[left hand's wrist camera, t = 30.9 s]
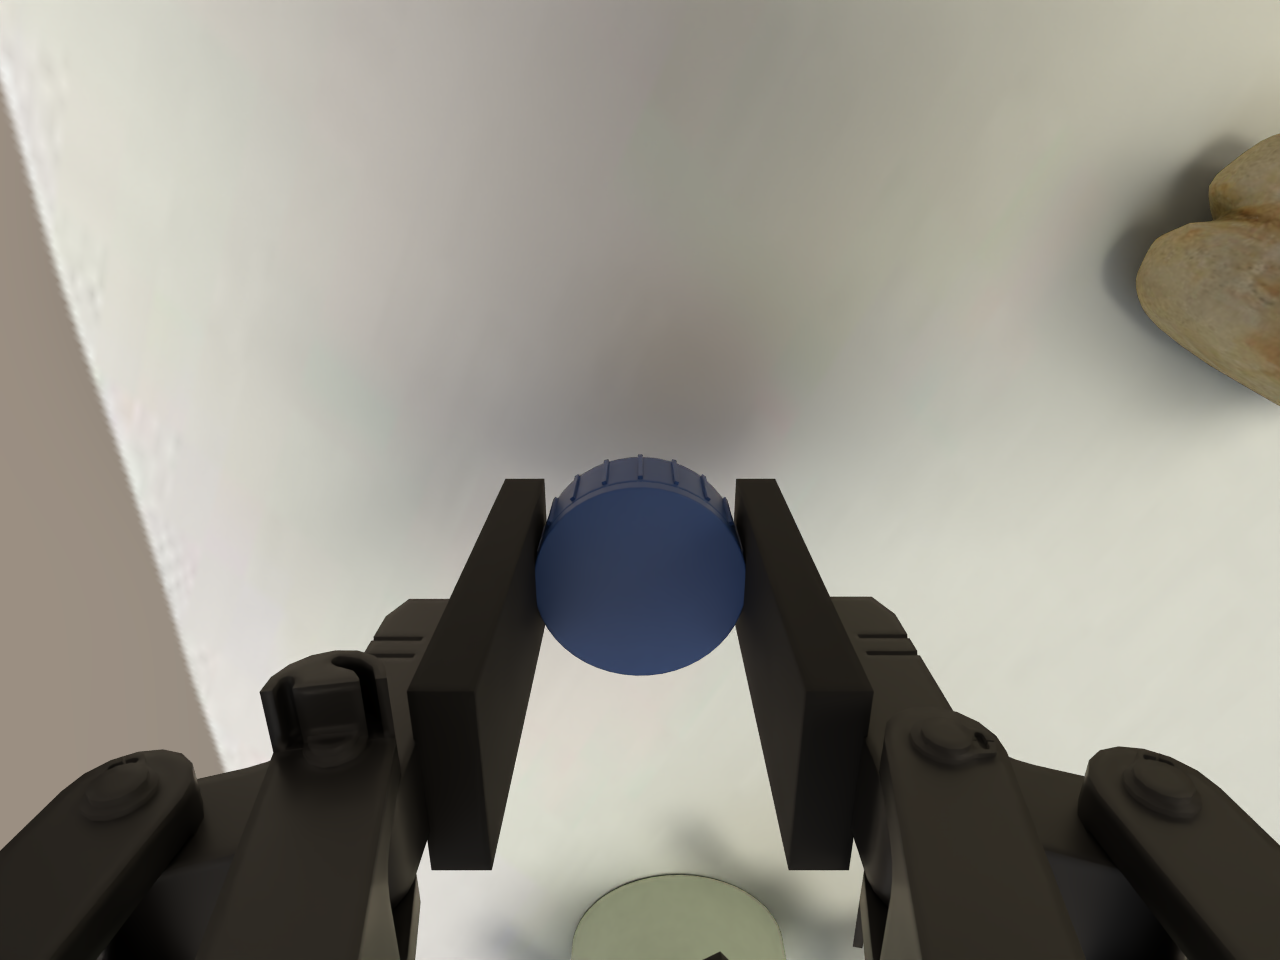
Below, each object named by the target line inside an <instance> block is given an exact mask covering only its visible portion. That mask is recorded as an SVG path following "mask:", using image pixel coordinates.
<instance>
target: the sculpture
mask: <svg viewBox="0 0 1280 960" xmlns="http://www.w3.org/2000/svg"><path fill="white" fill-rule="evenodd" d="M1209 204H1210V210H1211V214H1212V219H1213V221H1207V222H1196V223H1189V224H1186V225H1184V226H1182V227H1179V228H1177V229H1175V230H1172V231H1170V232H1168V233H1166V234H1163V235H1161V236H1160V237H1159V238H1157V239H1156V240H1155V241H1154V242H1153V244H1152V245H1151V246H1150V248H1149V250H1148V252H1147V254H1146V255H1145V257H1144V259H1143V262H1142V264H1141V266H1140V268H1139V270H1138V273H1137V277H1136V290H1137V294H1138V298H1139V301H1140V303H1141V306H1142V308H1143V310H1144V311H1145V313H1146V314H1147V315H1148V317H1149V318H1150V319H1151V320H1152V321H1153V322H1154V323H1155V324H1156V325H1157V327H1158V328H1160V329H1161V330H1162V331H1163V332H1165V333H1166V334H1167V335H1169V336H1170V337H1171V338H1172V339H1174V340H1175V341H1176V342H1177V343H1179V344H1180V345H1181V346H1182V347H1184V348H1185V349H1187V350H1188V351H1190V352H1191V353H1192V354H1194V355H1195V356H1197V357H1198V358H1200V359H1201V360H1203V361H1204V362H1206V363H1207V364H1209V365H1210V366H1212V367H1214V368H1215V369H1217V370H1219V371H1220V372H1222V373H1224V374H1225V375H1227V376H1229V377H1230V378H1232V379H1234V380H1235V381H1237V382H1239V383H1241V384H1242V385H1244V386H1246V387H1247V388H1249V389H1251V390H1253V391H1254V392H1256V393H1258V394H1260V395H1261V396H1263V397H1265V398H1267V399H1268V400H1270V401H1272V402H1274V403H1275V404H1277V405H1279V406H1280V134H1277V135H1274V136H1271V137H1269V138H1267V139H1265V140H1263V141H1261V142H1259V143H1258V144H1256V145H1255V146H1253V147H1252V148H1250V149H1249V150H1247V151H1246V152H1244V153H1243V154H1242V155H1241V156H1239V157H1238V158H1237V159H1235V160H1234V161H1233V162H1231V163H1230V164H1229V165H1228V166H1226V167H1225V168H1224V169H1223V170H1221V171H1220V172H1219V173H1218V174H1217V175H1216V176H1215V178H1214V179H1213V181H1212V182H1211V184H1210V185H1209Z"/></svg>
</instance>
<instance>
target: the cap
mask: <svg viewBox="0 0 1280 960" xmlns="http://www.w3.org/2000/svg"><path fill="white" fill-rule="evenodd" d="M745 572H746V564H745V560H744V557H743V549H742V545H741V542H740V538H739V534H738V531H737V527H736V525H734V521H733V518H732V515H731V512H730V508H729V504H728V501H727V499H726V497H724V498H722V497H721V496H720V494H719V493H718V492H717V491H716V490H715V488H714V487H713V486H712V485H711V484H709V483H708V482H707V480H706V476H704V475H703V474H702V475H701V476H699V475H698V474H697V473H695V472H694V471H692V470H690V469H688V468H686V467H684V466H682V465H679V464H677V462H676V460H673V459H672V461H666V460H662V459H658V458H648V457H643V455H638V457H631V458H624V459H618V460H614V461H610V462H609V460H605V461H604V464H602V465H599V466H597V467H594V468H592V469H591V470H589V471H587V472H585V473H584V474H582V475H581V476H579V475H578V474H577V475H576V476H575V478H574V481H573V482H572V483H571V484H570V485H569V486H568V487H567V488H566V489H565V490H564V491H563V492H562V494H561V495H560V496H559V498H556V497H555V498H554V499H553V503H552V506H551V510H550V513H549V517H548V519H547V522H546V525H544V529H543V532H542V536H541V540H540V543H539V547H538V550H537V557H536V562H535V581H536V598H537V608H538V610H539V613H540V615H541V618H542V619H543V621H544V623H545V625H546V626H547V628H548V630H549V631H550V632H551V634H552V635H553V636H554V638H555V639H556V640H557V641H558V642H559V643H560V644H561V645H562V646H563V647H564V648H565V649H567V650H568V651H569V652H570V653H572V654H573V655H574V656H576V657H577V658H579V659H581V660H582V661H584V662H586V663H588V664H590V665H592V666H595V667H597V668H600V669H603V670H606V671H609V672H614V673H618V674H624V675H635V676H639V675H655V674H663V673H667V672H671V671H675V670H678V669H680V668H683V667H686V666H688V665H690V664H692V663H694V662H696V661H698V660H700V659H701V658H703V657H704V656H706V655H707V654H709V653H710V652H711V651H713V650H714V649H715V648H716V647H717V646H718V645H720V643H721V642H722V641H723V640H724V639H725V638H726V637H727V636H728V634H729V633H730V631H731V630H732V629H733V627H734V626H735V624H736V622H737V620H738V618H739V616H740V614H741V611H742V608H743V605H744V590H745Z"/></svg>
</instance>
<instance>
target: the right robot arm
mask: <svg viewBox="0 0 1280 960" xmlns="http://www.w3.org/2000/svg"><path fill="white" fill-rule="evenodd" d="M703 960H729V959H728V958H727V957H726V956H725V955H724V954H723V953H722V952H721V951H720V952H718V953H716V954H714V955H711V956H709V957H707V958H705V959H703Z"/></svg>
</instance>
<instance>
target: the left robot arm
mask: <svg viewBox="0 0 1280 960" xmlns="http://www.w3.org/2000/svg"><path fill="white" fill-rule="evenodd" d="M544 525H546V503H545V483H544V479H505V481H504V483H503V485H502V487H501V490H500V492H499V494H498V496H497V498H496V500H495V503H494V505H493V507H492V509H491V511H490V513H489V515H488V518H487V520H486V522H485V524H484V526H483V528H482V530H481V533H480V535H479V537H478V539H477V541H476V543H475V545H474V548H473V550H472V552H471V554H470V556H469V558H468V561H467V563H466V565H465V567H464V569H463V571H462V573H461V576H460V578H459V580H458V582H457V584H456V586H455V588H454V591H453V593H452V595H451V597H450V599H409V600H407V601H406V602H405V603H403V604H402V605H401V606H399V607H398V608H397V609H395V610H394V611H393V612H391V613H390V614H389V615H387V616H386V617H385V619H384V620H383V622H382V624H381V625H380V627H379V629H378V630H377V632H376V634H375V636H374V641H371V642H370V644H369V646H368V647H367V649H366V651H365V652H360V651H331V652H326V653H321V654H316V655H311V656H309V657H307V658H304V659H302V660H299V661H297V662H294V663H292V664H289V665H288V666H287V667H285V668H284V669H282V670H281V671H279V672H278V673H276V674H275V675H274V676H272V677H271V678H270V679H269V680H268V682H267V683H266V684H265V686H264V687H263V688H262V690H261V691H260V695H261V700H262V704H263V709H264V713H265V717H266V722H267V726H268V731H269V735H270V739H271V744H272V748H273V755H272V758H271V760H270V761H268V762H265V763H262V764H259V765H255V766H252V767H249V768H245V769H240V770H236V771H231V772H227V773H222V774H218V775H214V776H209V777H205V778H200V779H197V778H196V775H195V771H194V767H193V764H192V763H191V762H190V761H189V760H188V759H187V758H186V757H185V756H184V755H183V754H182V753H177V752H172V751H167V750H152V751H142V752H136V753H133V754H130V755H126V756H123V757H120V758H117V759H113V760H110V761H108V762H106V763H105V764H103V765H101V766H99V767H97V768H95V769H93V770H91V771H89V772H87V773H85V774H83V775H82V776H81V777H79V778H78V779H77V780H76V781H74V782H73V783H72V784H70V785H69V786H68V787H66V788H65V789H64V790H63V791H61V792H60V793H59V794H58V795H57V796H56V797H55V798H54V799H53V800H52V801H51V802H50V803H49V804H48V805H47V806H46V807H45V808H44V809H43V810H42V811H41V812H40V813H39V814H38V815H37V816H36V817H35V818H34V819H32V820H31V821H30V822H29V823H28V824H27V825H26V826H25V827H24V828H23V829H22V830H21V831H20V832H19V833H18V834H17V835H16V836H15V837H14V838H13V839H12V840H11V841H10V842H9V843H8V844H7V845H6V846H5V847H4V848H3V849H2V850H1V851H0V960H415V955H416V944H417V934H418V923H419V913H420V895H419V888H418V882H417V875H416V873H417V870H418V867H419V863H420V860H421V857H422V854H423V851H424V848H425V845H426V842H427V841H428V848H429V855H430V862H431V869H432V870H492V867H493V862H494V858H495V853H496V848H497V844H498V839H499V835H500V830H501V825H502V821H503V816H504V812H505V807H506V802H507V798H508V793H509V789H510V784H511V779H512V775H513V770H514V766H515V761H516V757H517V752H518V747H519V743H520V738H521V734H522V729H523V724H524V720H525V715H526V711H527V706H528V701H529V697H530V692H531V688H532V683H533V678H534V674H535V669H536V665H537V660H538V656H539V651H540V646H541V642H542V637H543V633H544V628H545V623H544V621H543V619H542V618H541V615H540V613H539V610H538V608H537V598H536V581H535V562H536V557H537V550H538V547H539V543H540V540H541V536H542V532H543V529H544ZM734 525H736V527H737V531H738V534H739V538H740V542H741V545H742V549H743V557H744V560H745V564H746V572H745V590H744V605H743V608H742V611H741V614H740V616H739V618H738V620H737V622H736V624H735V626H736V630H737V635H738V640H739V644H740V649H741V653H742V658H743V663H744V667H745V672H746V676H747V681H748V686H749V690H750V695H751V699H752V704H753V708H754V713H755V718H756V722H757V727H758V731H759V736H760V741H761V745H762V750H763V754H764V759H765V764H766V768H767V773H768V777H769V782H770V786H771V791H772V796H773V800H774V805H775V809H776V814H777V819H778V823H779V828H780V832H781V837H782V842H783V846H784V851H785V855H786V860H787V865H788V869H789V870H849V866H850V858H851V851H852V844H853V837H854V840H855V843H856V846H857V849H858V852H859V855H860V858H861V861H862V864H863V867H864V875H863V882H862V888H861V895H860V902H859V908H858V915H857V921H856V928H855V935H854V942H853V947H858V948H862V947H863V943H864V953H865V960H1280V845H1279V844H1278V843H1277V842H1276V841H1275V840H1274V839H1273V838H1272V837H1270V836H1269V835H1268V834H1267V833H1266V832H1265V831H1264V830H1263V829H1262V828H1261V827H1260V826H1259V825H1258V824H1257V823H1256V822H1255V821H1254V820H1253V819H1252V818H1251V817H1250V816H1249V815H1248V814H1247V813H1246V812H1245V811H1244V810H1242V809H1241V808H1240V807H1239V806H1238V805H1237V804H1236V803H1235V802H1234V801H1233V800H1232V799H1231V798H1230V797H1229V796H1228V795H1227V794H1226V793H1225V792H1224V791H1223V790H1222V789H1221V788H1219V787H1218V786H1217V785H1216V784H1214V783H1213V782H1212V781H1210V780H1209V779H1208V778H1206V777H1205V776H1204V775H1203V774H1201V773H1200V772H1199V771H1197V770H1195V769H1193V768H1191V767H1189V766H1187V765H1185V764H1183V763H1181V762H1179V761H1177V760H1175V759H1173V758H1171V757H1168V756H1165V755H1162V754H1159V753H1156V752H1152V751H1149V750H1146V749H1140V748H1130V747H1114V748H1109V749H1104V750H1100V751H1099V752H1098V753H1096V754H1095V755H1094V756H1093V757H1092V758H1091V759H1090V760H1089V762H1088V766H1087V770H1086V773H1085V776H1081V775H1076V774H1072V773H1067V772H1063V771H1058V770H1054V769H1049V768H1045V767H1041V766H1036V765H1032V764H1029V763H1025V762H1022V761H1019V760H1015V759H1013V758H1010V757H1008V754H1007V751H1006V750H1005V748H1004V747H1003V745H1002V744H1001V742H1000V741H999V739H998V738H997V736H996V735H994V734H993V733H992V732H991V731H989V730H988V729H987V728H985V727H984V726H983V725H982V724H980V723H979V722H977V721H975V720H973V719H971V718H969V717H967V716H964V715H962V714H960V713H958V712H954V711H953V710H952V708H951V707H950V705H949V703H948V702H947V700H946V698H945V697H944V695H943V693H942V692H941V690H940V688H939V687H938V685H937V683H936V682H935V680H934V678H933V677H932V675H931V673H930V672H929V670H928V668H927V667H926V665H925V663H924V662H923V660H922V658H921V657H920V655H917V650H916V648H915V647H914V645H913V643H912V642H911V640H910V638H907V633H906V632H905V630H904V628H903V627H902V625H901V623H900V622H899V620H898V618H897V617H896V615H895V614H894V613H893V612H891V611H890V610H889V609H887V608H886V607H885V606H883V605H882V604H881V603H879V602H878V601H877V600H875V599H874V598H873V597H830V596H829V594H828V592H827V589H826V587H825V585H824V583H823V581H822V579H821V577H820V574H819V572H818V570H817V568H816V566H815V564H814V562H813V559H812V557H811V555H810V553H809V551H808V549H807V547H806V544H805V542H804V540H803V538H802V536H801V534H800V532H799V529H798V527H797V525H796V523H795V521H794V519H793V516H792V514H791V512H790V510H789V508H788V506H787V504H786V501H785V499H784V497H783V495H782V493H781V491H780V489H779V486H778V484H777V482H776V480H775V479H736V493H735V512H734Z"/></svg>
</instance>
